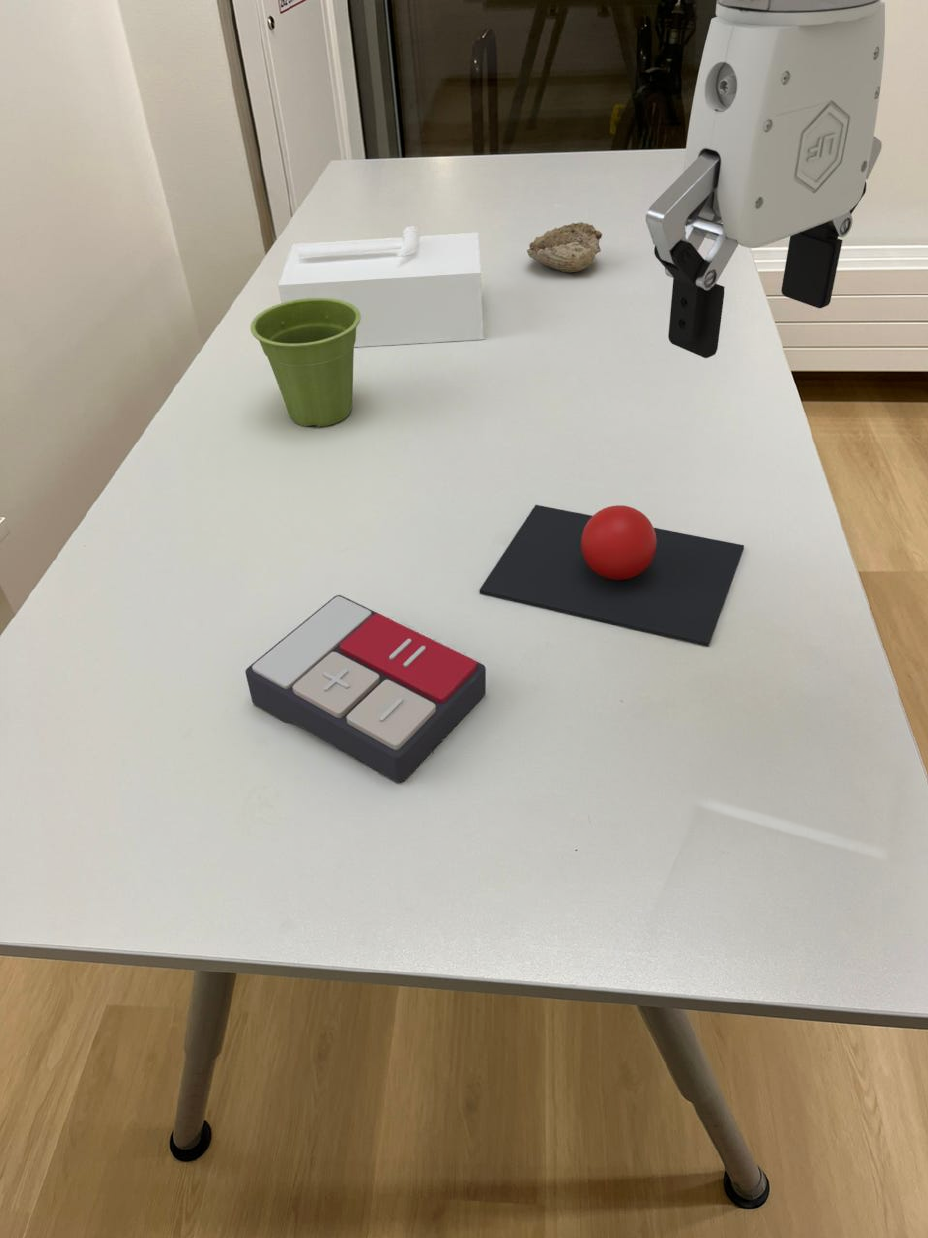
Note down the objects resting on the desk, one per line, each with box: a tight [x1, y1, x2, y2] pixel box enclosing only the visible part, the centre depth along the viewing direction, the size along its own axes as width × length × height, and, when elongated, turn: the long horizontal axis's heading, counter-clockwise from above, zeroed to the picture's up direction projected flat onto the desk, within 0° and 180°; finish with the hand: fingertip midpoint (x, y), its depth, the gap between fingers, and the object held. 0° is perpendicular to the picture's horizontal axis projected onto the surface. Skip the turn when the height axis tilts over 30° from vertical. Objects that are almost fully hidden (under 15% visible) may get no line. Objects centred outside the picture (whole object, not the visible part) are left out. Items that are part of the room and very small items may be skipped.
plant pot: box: [250, 298, 361, 427], centre depth 106 cm, size 12×12×11 cm
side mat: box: [479, 504, 745, 647], centre depth 84 cm, size 20×14×1 cm
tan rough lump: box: [526, 221, 603, 273], centre depth 138 cm, size 11×7×10 cm
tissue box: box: [277, 225, 485, 348], centre depth 124 cm, size 14×25×11 cm, turn 91°
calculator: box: [245, 594, 487, 784], centre depth 73 cm, size 11×4×15 cm
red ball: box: [581, 504, 657, 580], centre depth 82 cm, size 6×6×6 cm
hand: (750, 324), depth 56 cm, fingers open, 9 cm apart
